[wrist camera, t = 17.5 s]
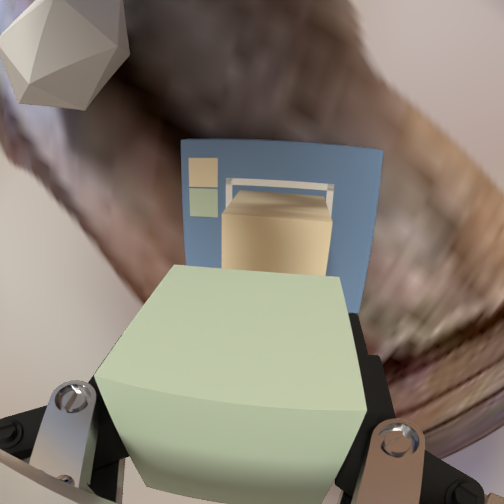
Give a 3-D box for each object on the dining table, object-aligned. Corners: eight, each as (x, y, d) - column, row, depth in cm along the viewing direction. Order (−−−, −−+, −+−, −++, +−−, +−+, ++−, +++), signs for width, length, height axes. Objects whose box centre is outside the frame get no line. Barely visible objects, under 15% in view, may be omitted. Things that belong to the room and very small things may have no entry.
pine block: (323, 196, 19) (332, 222, 14) (315, 272, 21) (318, 316, 16) (239, 190, 19) (221, 213, 15) (238, 265, 21) (222, 307, 17)
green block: (339, 276, 9) (366, 410, 5) (316, 392, 11) (317, 510, 7) (173, 264, 10) (93, 375, 5) (187, 379, 12) (146, 486, 7)
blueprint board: (378, 149, 18) (383, 151, 17) (355, 303, 23) (358, 313, 22) (187, 138, 20) (180, 140, 18) (193, 291, 24) (188, 299, 23)
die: (150, -16, 16) (25, -41, 9) (176, 42, 14) (-1, 14, 7) (101, 64, 21) (-6, 56, 14) (115, 138, 19) (-23, 138, 12)
